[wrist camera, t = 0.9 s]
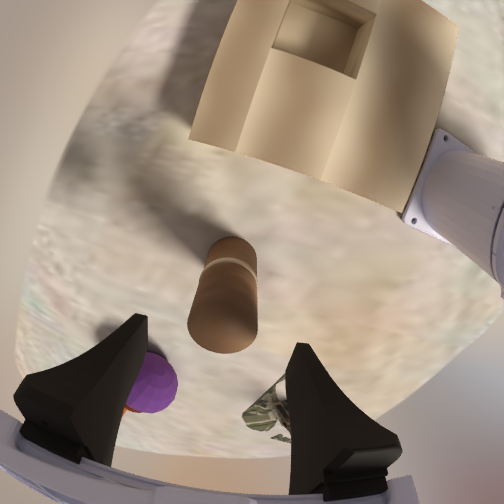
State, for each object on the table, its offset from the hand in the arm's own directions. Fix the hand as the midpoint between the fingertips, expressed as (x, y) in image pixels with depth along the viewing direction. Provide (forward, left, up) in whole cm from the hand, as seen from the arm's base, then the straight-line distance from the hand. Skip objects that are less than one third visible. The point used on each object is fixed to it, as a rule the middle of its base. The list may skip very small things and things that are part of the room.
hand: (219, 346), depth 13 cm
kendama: (+7, +20, -10) cm, 23 cm away
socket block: (-2, -15, -9) cm, 18 cm away
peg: (0, 0, -9) cm, 9 cm away
